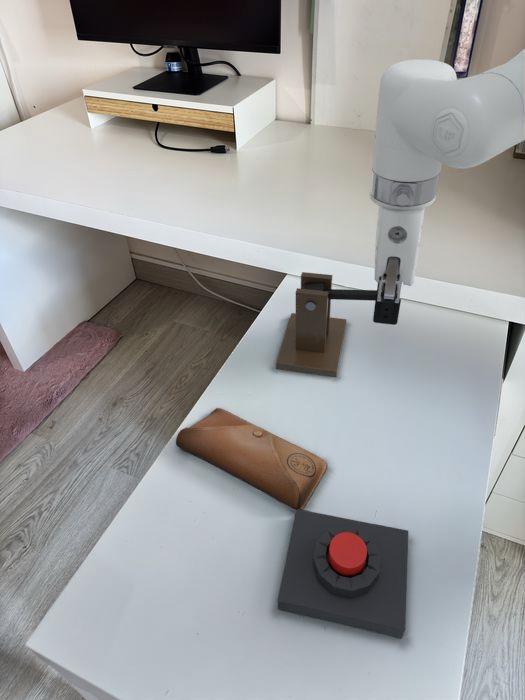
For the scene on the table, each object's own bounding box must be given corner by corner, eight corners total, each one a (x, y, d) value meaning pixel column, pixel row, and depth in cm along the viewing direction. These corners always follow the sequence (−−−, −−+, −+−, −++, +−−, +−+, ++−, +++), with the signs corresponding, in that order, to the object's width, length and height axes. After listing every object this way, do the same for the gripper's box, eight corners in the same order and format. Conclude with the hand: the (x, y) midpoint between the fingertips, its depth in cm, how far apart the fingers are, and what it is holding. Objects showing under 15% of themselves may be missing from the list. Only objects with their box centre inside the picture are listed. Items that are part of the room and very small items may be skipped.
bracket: (346, 324, 82) (351, 262, 74) (336, 377, 73) (341, 313, 65) (291, 318, 83) (291, 257, 75) (275, 368, 75) (273, 305, 67)
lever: (392, 292, 71) (393, 278, 70) (390, 314, 68) (391, 299, 66) (308, 290, 74) (306, 276, 73) (302, 311, 71) (300, 297, 69)
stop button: (366, 544, 51) (368, 536, 50) (363, 579, 48) (365, 571, 47) (331, 537, 52) (332, 528, 50) (326, 571, 49) (326, 563, 48)
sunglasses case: (332, 459, 62) (321, 451, 56) (309, 513, 61) (295, 511, 55) (214, 405, 69) (193, 393, 64) (191, 452, 68) (167, 444, 62)
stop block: (405, 540, 55) (411, 521, 52) (401, 639, 48) (408, 623, 45) (296, 518, 57) (296, 499, 54) (277, 609, 50) (276, 593, 47)
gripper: (438, 222, 51) (412, 353, 63) (437, 156, 63) (415, 277, 76) (363, 217, 53) (352, 346, 65) (376, 154, 65) (365, 273, 77)
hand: (386, 308), depth 70 cm, fingers closed on lever, 5 cm apart
